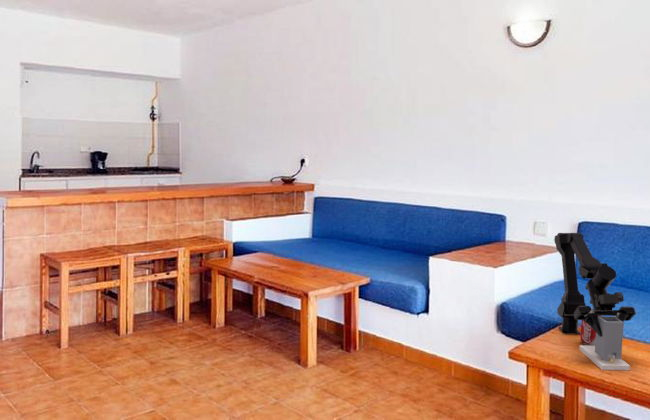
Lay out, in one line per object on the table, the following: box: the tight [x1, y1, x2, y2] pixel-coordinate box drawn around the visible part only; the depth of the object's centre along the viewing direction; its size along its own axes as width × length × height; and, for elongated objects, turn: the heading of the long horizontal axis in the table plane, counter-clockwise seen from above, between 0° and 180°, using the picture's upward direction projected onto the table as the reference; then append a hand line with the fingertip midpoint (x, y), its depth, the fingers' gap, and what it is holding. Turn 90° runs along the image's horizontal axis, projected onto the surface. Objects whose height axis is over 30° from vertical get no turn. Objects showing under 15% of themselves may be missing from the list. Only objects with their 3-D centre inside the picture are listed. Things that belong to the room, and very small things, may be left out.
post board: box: [578, 344, 631, 371], centre depth 196 cm, size 18×9×5 cm, turn 178°
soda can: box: [579, 320, 596, 346], centre depth 210 cm, size 7×7×12 cm
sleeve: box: [595, 316, 625, 359], centre depth 191 cm, size 6×6×12 cm
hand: (611, 336), depth 190 cm, fingers closed on sleeve, 6 cm apart
